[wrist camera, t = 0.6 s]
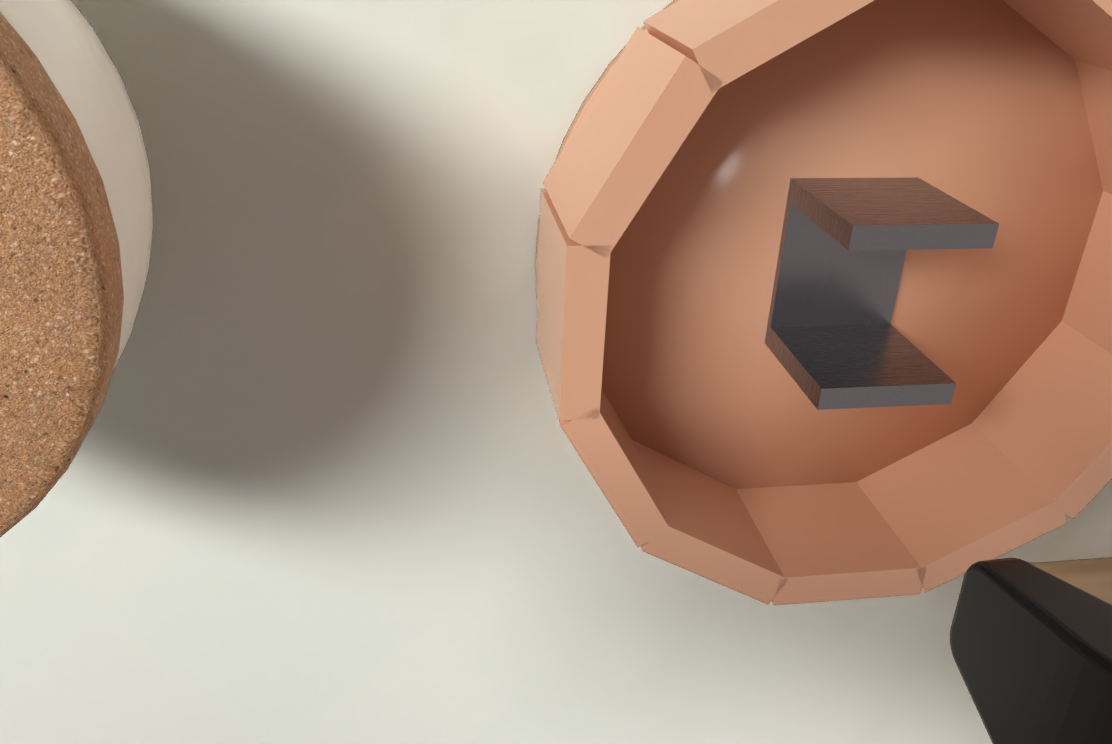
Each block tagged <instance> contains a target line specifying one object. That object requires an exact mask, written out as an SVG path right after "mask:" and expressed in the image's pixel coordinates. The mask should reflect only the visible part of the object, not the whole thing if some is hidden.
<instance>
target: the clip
mask: <svg viewBox="0 0 1112 744" xmlns="http://www.w3.org/2000/svg"><path fill="white" fill-rule="evenodd" d="M998 227H999V223H997V222H995V221H994V220H992V219H990V218H988V217H987V216H985V215H983V214H981V213H980V212H978V211H976V210H974V209H973V208H971V207H969V206H967V205H966V204H964V203H962V202H960V201H959V200H957V199H955V198H953V197H952V196H950V195H948V194H946V193H945V192H943V191H941V190H939V189H938V188H936V187H934V186H932V185H931V184H929V183H927V182H925V181H924V180H922V179H920V178H918V177H912V178H790V184H789V190H788V197H787V203H786V209H785V216H784V222H783V229H782V235H781V241H780V248H779V254H778V260H777V267H776V273H775V280H774V286H773V292H772V299H771V305H770V311H769V318H768V324H767V331H766V337H765V344H766V345H767V347H768V348H769V349H770V350H771V352H772V353H773V354H774V356H775V357H776V358H777V359H778V361H779V362H780V363H781V364H782V366H783V367H784V368H785V369H786V371H787V372H788V373H789V374H790V376H791V377H792V378H793V380H794V381H795V382H796V383H797V385H798V386H799V387H800V388H801V390H802V391H803V392H804V393H805V395H806V396H807V397H808V399H809V400H810V401H811V402H812V404H813V405H814V406H815V407H816V409H817V410H826V409H849V408H871V407H893V406H916V405H938V404H951V401H952V398H953V394H954V390H955V386H956V383H955V382H954V381H953V380H952V379H951V378H950V377H949V376H948V375H947V374H945V373H944V372H943V371H942V370H941V369H940V368H939V367H938V366H937V365H935V364H934V363H933V362H932V361H931V360H930V359H929V358H928V357H927V356H926V355H924V354H923V353H922V352H921V351H920V350H919V349H918V348H917V347H916V346H914V345H913V344H912V343H911V342H910V341H909V340H908V339H907V338H906V337H904V336H903V335H902V334H901V333H900V332H899V331H898V330H897V329H896V328H894V327H893V326H892V325H891V324H890V323H891V319H892V314H893V310H894V305H895V301H896V296H897V292H898V287H899V283H900V278H901V274H902V270H903V265H904V261H905V256H906V252H907V250H924V249H981V248H993V246H994V242H995V238H996V234H997V231H998Z"/></svg>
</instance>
